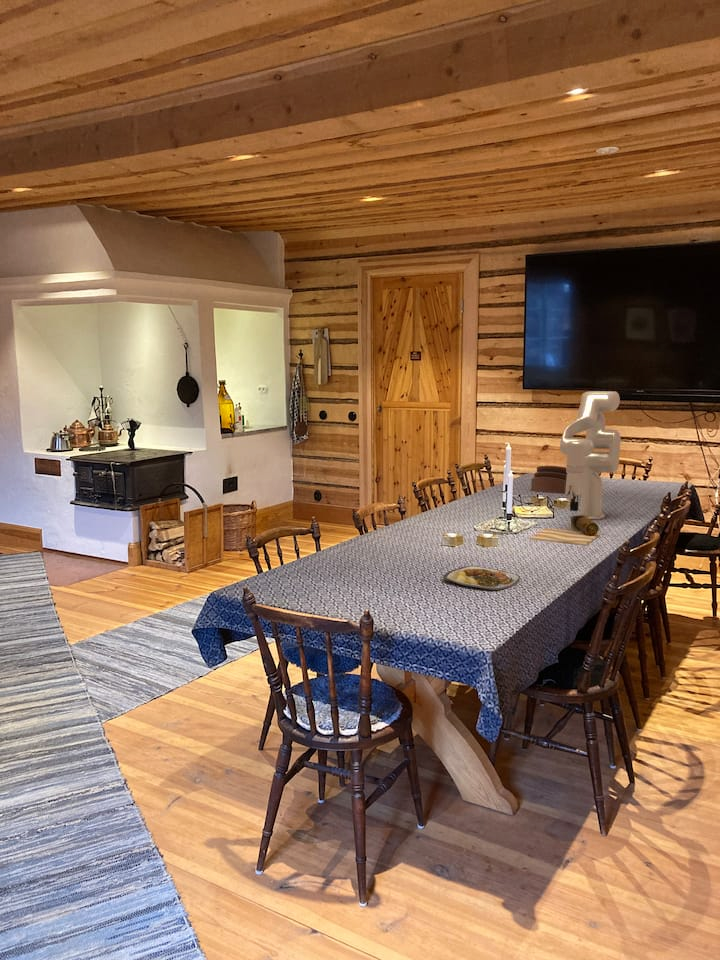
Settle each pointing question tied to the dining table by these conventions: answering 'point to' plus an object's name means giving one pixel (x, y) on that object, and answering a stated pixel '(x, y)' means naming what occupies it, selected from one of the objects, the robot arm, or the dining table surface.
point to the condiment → (583, 524)
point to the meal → (481, 577)
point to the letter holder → (549, 479)
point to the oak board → (564, 536)
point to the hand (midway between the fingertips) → (574, 510)
